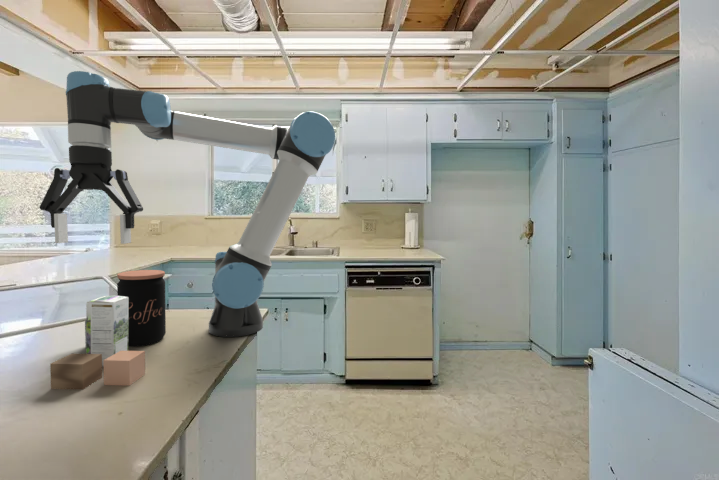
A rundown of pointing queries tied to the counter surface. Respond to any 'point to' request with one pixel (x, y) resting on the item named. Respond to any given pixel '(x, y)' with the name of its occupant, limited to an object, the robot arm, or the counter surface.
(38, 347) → the counter surface
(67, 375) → the walnut block
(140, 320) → the coffee jar
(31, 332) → the counter surface
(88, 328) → the syrup box
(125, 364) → the terracotta block
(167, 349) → the counter surface
